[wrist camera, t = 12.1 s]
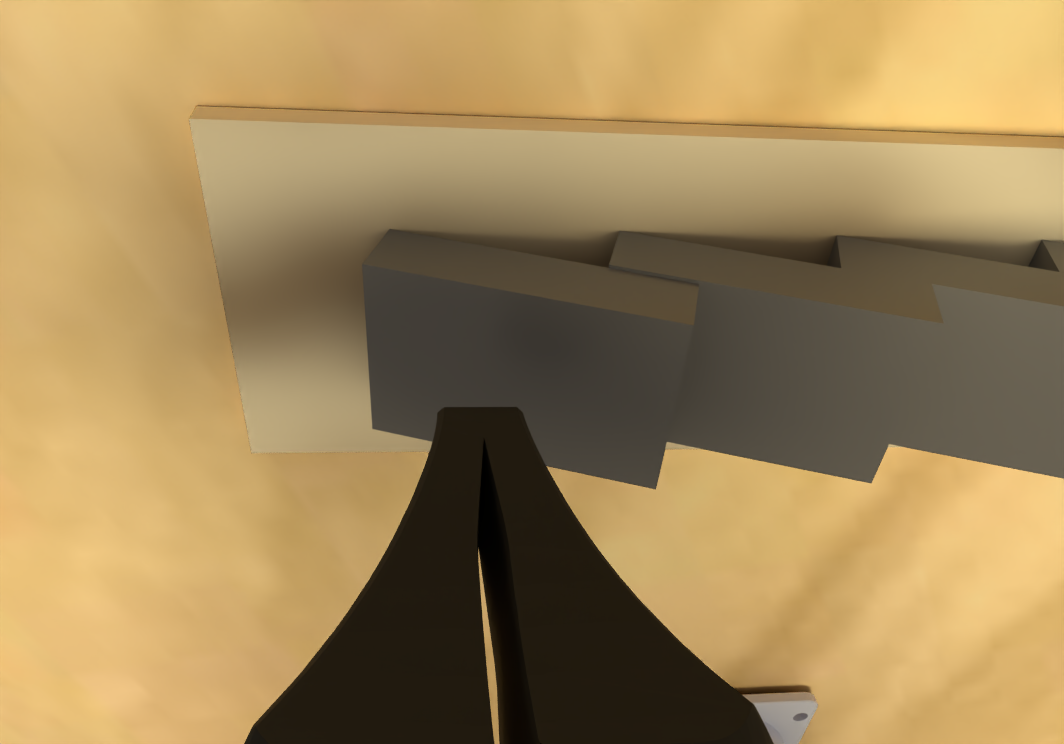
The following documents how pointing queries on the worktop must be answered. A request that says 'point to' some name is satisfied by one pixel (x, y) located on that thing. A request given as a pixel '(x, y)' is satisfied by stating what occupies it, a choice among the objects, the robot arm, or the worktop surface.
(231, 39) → the worktop surface
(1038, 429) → the domino
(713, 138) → the board
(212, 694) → the worktop surface
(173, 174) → the worktop surface
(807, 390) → the domino
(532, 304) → the domino
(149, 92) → the worktop surface
